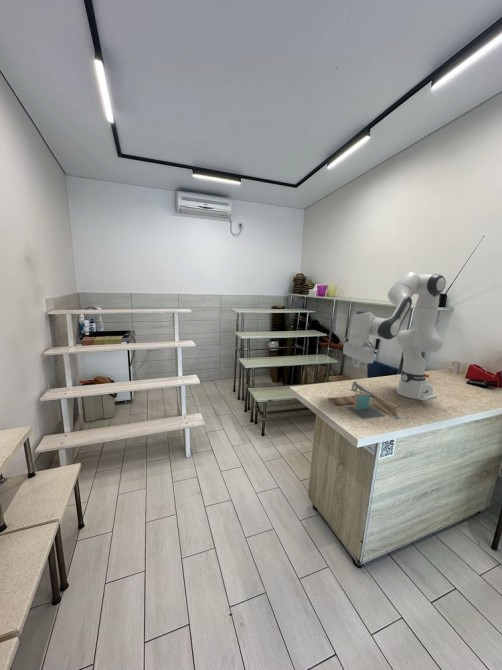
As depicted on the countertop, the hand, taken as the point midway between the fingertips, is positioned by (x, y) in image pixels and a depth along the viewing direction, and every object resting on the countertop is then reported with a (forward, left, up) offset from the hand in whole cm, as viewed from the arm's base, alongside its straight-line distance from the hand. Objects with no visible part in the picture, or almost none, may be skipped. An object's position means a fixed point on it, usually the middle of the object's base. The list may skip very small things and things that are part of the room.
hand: (356, 366), depth 136 cm
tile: (0, +7, -20) cm, 21 cm away
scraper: (-12, +13, -21) cm, 27 cm away
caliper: (-17, -9, -21) cm, 29 cm away
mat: (0, +10, -21) cm, 23 cm away
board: (+1, -3, -21) cm, 21 cm away
